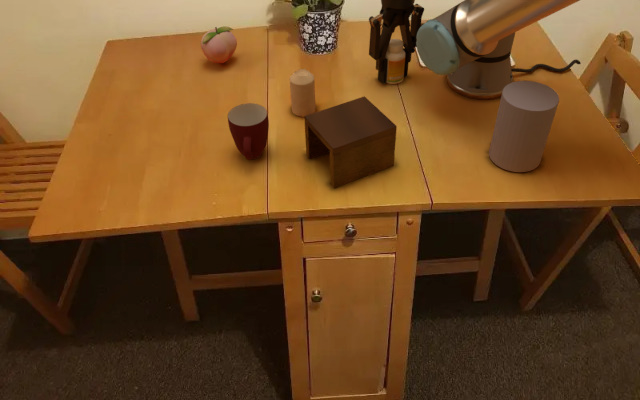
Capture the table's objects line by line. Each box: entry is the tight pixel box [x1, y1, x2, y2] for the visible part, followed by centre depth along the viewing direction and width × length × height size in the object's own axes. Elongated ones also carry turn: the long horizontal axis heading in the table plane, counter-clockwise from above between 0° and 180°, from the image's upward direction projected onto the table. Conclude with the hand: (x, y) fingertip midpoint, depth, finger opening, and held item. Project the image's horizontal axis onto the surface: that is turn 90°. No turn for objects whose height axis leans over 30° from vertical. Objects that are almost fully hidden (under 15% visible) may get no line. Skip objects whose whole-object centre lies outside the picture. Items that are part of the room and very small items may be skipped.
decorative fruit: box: [200, 26, 238, 64], centre depth 147 cm, size 9×8×10 cm
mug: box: [227, 102, 270, 160], centre depth 119 cm, size 10×8×10 cm
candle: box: [289, 68, 317, 118], centre depth 131 cm, size 6×6×10 cm
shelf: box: [303, 95, 398, 189], centre depth 117 cm, size 14×12×10 cm
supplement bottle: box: [385, 38, 405, 85], centre depth 140 cm, size 5×5×10 cm
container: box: [488, 80, 560, 173], centre depth 115 cm, size 10×10×15 cm
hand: (392, 77), depth 143 cm, fingers closed on supplement bottle, 5 cm apart
